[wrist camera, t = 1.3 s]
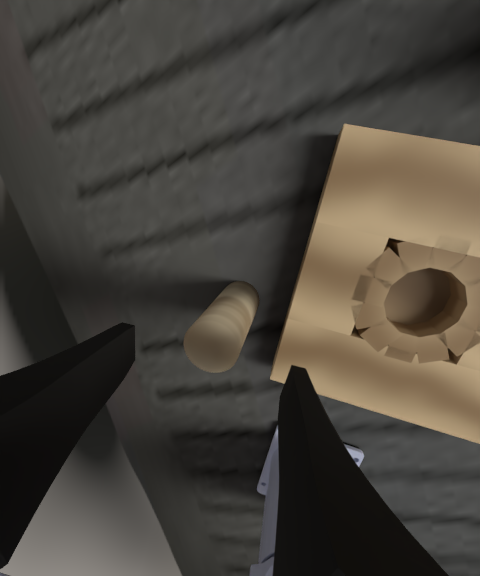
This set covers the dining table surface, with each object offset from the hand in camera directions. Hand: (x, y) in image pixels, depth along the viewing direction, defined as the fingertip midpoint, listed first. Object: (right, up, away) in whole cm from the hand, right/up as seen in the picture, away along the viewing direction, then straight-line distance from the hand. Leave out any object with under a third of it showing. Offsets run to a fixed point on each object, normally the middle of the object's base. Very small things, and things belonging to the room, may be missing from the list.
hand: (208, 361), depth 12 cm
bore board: (+14, +3, +7) cm, 16 cm away
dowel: (+1, +2, +10) cm, 11 cm away
